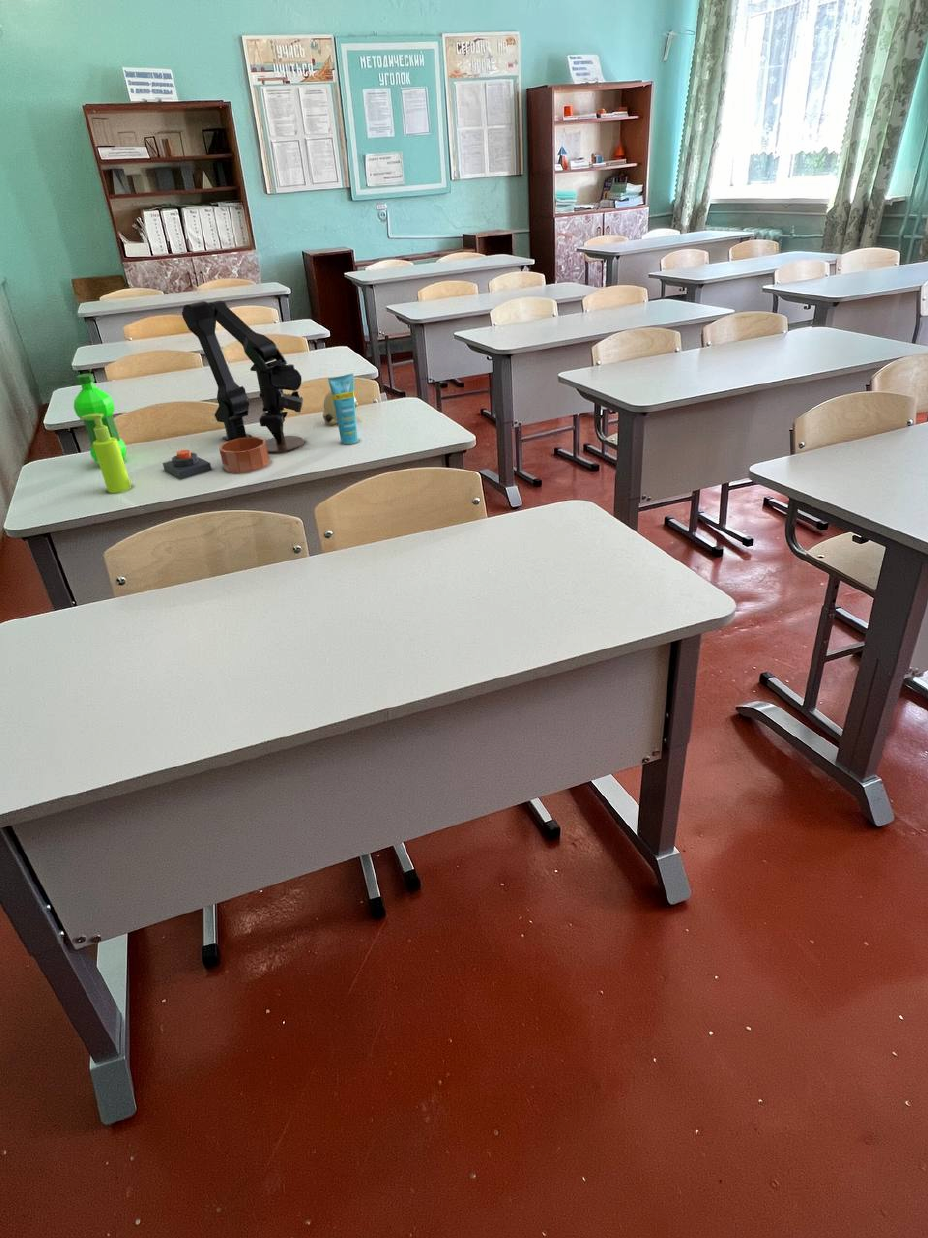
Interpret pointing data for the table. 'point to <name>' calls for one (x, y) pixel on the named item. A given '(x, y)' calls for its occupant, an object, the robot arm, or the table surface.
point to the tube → (344, 407)
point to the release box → (187, 466)
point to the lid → (284, 443)
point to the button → (183, 454)
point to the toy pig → (331, 409)
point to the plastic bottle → (96, 410)
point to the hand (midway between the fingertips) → (280, 440)
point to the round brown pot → (244, 455)
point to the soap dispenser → (109, 457)
